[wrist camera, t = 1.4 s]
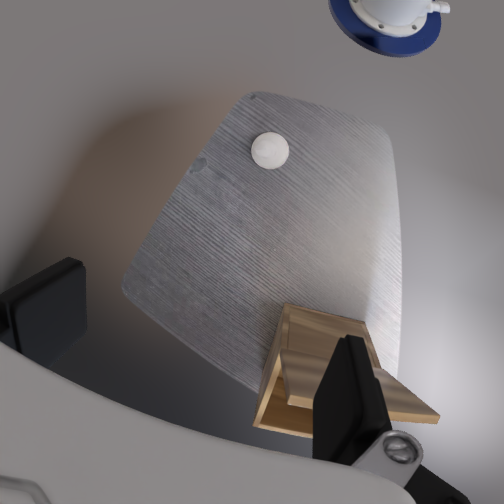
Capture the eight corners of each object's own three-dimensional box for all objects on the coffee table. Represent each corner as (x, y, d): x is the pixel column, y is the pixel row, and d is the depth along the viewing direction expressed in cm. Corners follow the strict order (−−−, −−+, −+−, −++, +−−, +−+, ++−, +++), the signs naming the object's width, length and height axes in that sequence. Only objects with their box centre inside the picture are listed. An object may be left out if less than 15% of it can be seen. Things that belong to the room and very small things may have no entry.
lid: (437, 424, 19) (441, 415, 19) (286, 404, 20) (290, 394, 20) (382, 375, 34) (384, 369, 34) (279, 353, 34) (281, 347, 34)
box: (334, 389, 50) (339, 442, 38) (262, 373, 50) (252, 426, 39) (364, 322, 46) (382, 370, 34) (284, 302, 46) (280, 348, 35)
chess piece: (290, 167, 41) (289, 169, 32) (253, 170, 42) (240, 173, 32) (287, 130, 40) (284, 121, 30) (249, 134, 41) (236, 126, 31)
